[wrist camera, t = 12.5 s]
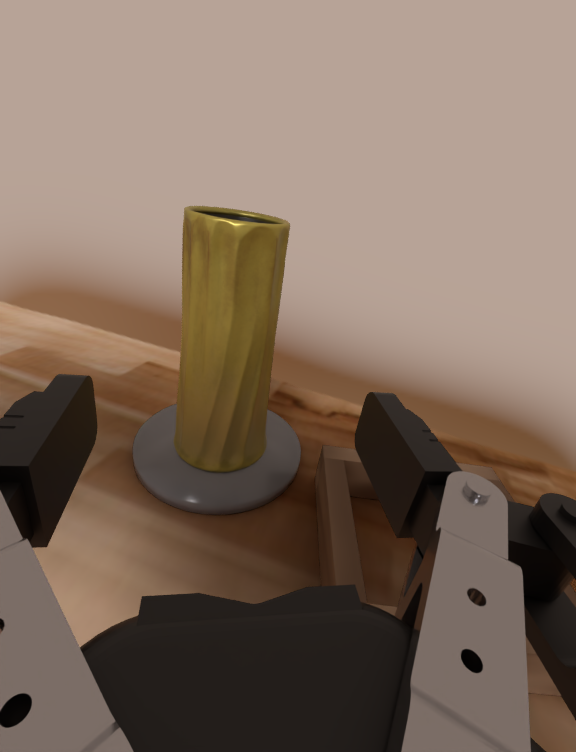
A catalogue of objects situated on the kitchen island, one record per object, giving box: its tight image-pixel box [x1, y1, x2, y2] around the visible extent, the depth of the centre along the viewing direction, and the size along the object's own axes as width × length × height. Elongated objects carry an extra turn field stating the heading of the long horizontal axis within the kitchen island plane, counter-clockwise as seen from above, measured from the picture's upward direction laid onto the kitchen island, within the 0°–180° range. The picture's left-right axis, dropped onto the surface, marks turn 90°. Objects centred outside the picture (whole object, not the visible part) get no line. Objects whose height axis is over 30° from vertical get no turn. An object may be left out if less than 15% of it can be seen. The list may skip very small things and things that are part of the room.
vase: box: [174, 206, 290, 472], centre depth 22 cm, size 6×6×14 cm
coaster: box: [133, 404, 301, 515], centre depth 25 cm, size 11×11×1 cm
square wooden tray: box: [315, 445, 576, 696], centre depth 19 cm, size 11×11×3 cm
